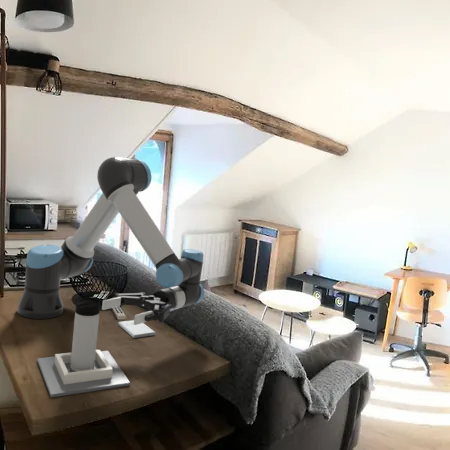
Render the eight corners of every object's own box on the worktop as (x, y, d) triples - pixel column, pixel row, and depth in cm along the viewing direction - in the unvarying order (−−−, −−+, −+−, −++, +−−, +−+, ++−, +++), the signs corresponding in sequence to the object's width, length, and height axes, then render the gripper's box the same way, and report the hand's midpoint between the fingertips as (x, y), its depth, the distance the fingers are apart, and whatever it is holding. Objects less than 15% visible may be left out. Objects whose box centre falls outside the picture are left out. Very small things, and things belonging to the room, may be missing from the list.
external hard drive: (133, 339, 151) (118, 325, 160) (155, 336, 156) (138, 323, 165) (133, 335, 150) (118, 321, 160) (155, 331, 155) (139, 319, 165)
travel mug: (99, 369, 125) (106, 300, 122) (82, 378, 119) (89, 305, 116) (82, 362, 128) (88, 294, 125) (64, 370, 122) (71, 299, 119)
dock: (37, 361, 126) (38, 349, 126) (107, 353, 137) (108, 342, 137) (50, 397, 110) (51, 384, 109) (129, 385, 120) (131, 373, 120)
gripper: (196, 322, 141) (148, 339, 124) (140, 299, 155) (89, 311, 137) (199, 299, 140) (151, 313, 123) (142, 278, 154) (91, 287, 136)
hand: (118, 312), depth 130 cm, fingers open, 13 cm apart
